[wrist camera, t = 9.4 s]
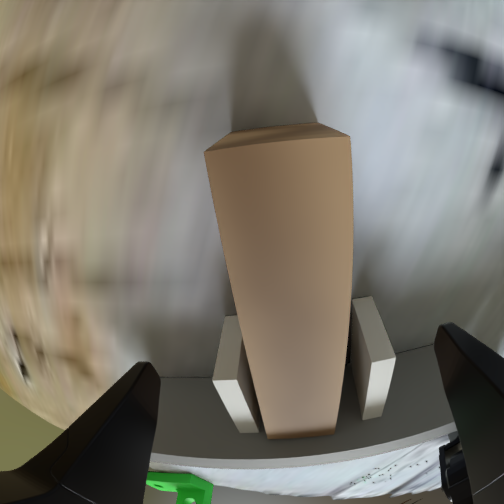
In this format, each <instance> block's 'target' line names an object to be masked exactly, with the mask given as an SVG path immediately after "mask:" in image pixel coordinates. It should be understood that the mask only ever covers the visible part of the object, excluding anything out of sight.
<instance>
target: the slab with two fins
mask: <svg viewBox="0 0 504 504" xmlns="http://www.w3.org/2000/svg"><path fill="white" fill-rule="evenodd" d="M160 379H161V389H160V399H159V410H158V420H157V426H156V432H155V437H154V442H153V447H152V452H151V458H150V461H153V462H159V463H166V464H173V465H182V466H192V467H203V468H220V469H275V468H292V467H304V466H314V465H322V464H330V463H337V462H343V461H349V460H355V459H360V458H365V457H370V456H374V455H379V454H383V453H387V452H391V451H395V450H399V449H403V448H406V447H410V446H413V445H417V444H420V443H423V442H426V441H429V440H432V439H435V438H438V437H441V436H444V435H447V434H449V433H452V432H455V431H457V429H456V425H455V422H454V419H453V415H452V412H451V409H450V406H449V403H448V400H447V397H446V394H445V391H444V387H443V383H442V379H441V375H440V371H439V367H438V363H437V359H436V355H435V352H434V344H433V345H429V346H425V347H422V348H418V349H414V350H410V351H406V352H401V353H397V354H395V353H394V350H393V348H392V345H391V343H390V340H389V337H388V335H387V332H386V330H385V327H384V325H383V322H382V320H381V317H380V315H379V312H378V310H377V307H376V305H375V303H374V300H373V298H372V296H369V297H363V298H357V299H352V338H351V363H347V364H345V368H344V376H343V383H342V390H341V397H340V404H339V410H338V416H337V422H336V427H335V433H334V434H332V435H324V436H314V437H303V438H288V439H268V438H267V434H266V430H265V426H264V423H263V419H262V415H261V411H260V407H259V403H258V399H257V395H256V391H255V387H254V383H253V379H252V375H251V371H250V366H249V362H248V358H247V354H246V350H245V345H244V341H243V337H242V332H241V328H240V324H239V319H238V315H234V316H225V319H224V324H223V328H222V333H221V338H220V343H219V348H218V353H217V358H216V363H215V368H214V374H213V377H203V378H160Z"/></svg>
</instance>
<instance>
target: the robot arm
mask: <svg viewBox="0 0 504 504" xmlns="http://www.w3.org/2000/svg"><path fill="white" fill-rule="evenodd" d="M434 352H435V355H436V359H437V363H438V367H439V371H440V375H441V379H442V383H443V387H444V391H445V394H446V397H447V400H448V403H449V406H450V409H451V412H452V415H453V419H454V422H455V425H456V429H457V431H455V432H452V433H449V434H448V437H449V440H450V443H448V444H446V445H443V446H441V447H440V448H439V453H440V455H439V460H440V470H441V482H442V486H441V488H442V492H445V494H446V496H447V498H448V499H449V500H450V501H451V502H453V504H504V358H503V357H502V356H500V355H499V354H497V353H496V352H494V351H493V350H492V349H490V348H489V347H487V346H486V345H485V344H483V343H482V342H480V341H479V340H477V339H476V338H474V337H473V336H471V335H470V334H469V333H467V332H466V331H464V330H463V329H461V328H460V327H458V326H457V325H455V324H454V323H452V322H448V323H445V324H441V325H440V326H439V327H438V331H437V334H436V338H435V341H434ZM160 389H161V379H160V377H159V375H158V373H157V372H156V370H155V369H154V367H153V366H152V364H151V363H150V362H137V363H136V364H135V365H134V366H133V367H132V368H131V369H130V370H129V371H128V372H126V373H125V374H124V375H123V376H122V377H121V378H120V379H119V380H118V381H117V382H116V383H115V384H114V385H113V386H112V387H111V388H110V389H108V390H107V391H106V392H105V393H104V394H103V395H102V396H101V397H100V398H99V399H98V400H97V401H96V402H95V403H94V404H93V405H92V406H90V407H89V408H88V409H87V410H86V411H85V412H84V413H83V414H82V415H81V416H80V417H79V418H78V419H77V420H76V421H75V422H73V423H72V424H71V425H70V426H69V428H67V429H66V430H65V431H64V432H63V433H62V434H61V435H60V436H58V437H57V438H56V439H55V440H54V441H53V442H52V443H51V444H49V445H48V446H47V447H46V448H45V449H43V450H42V451H41V452H39V453H38V454H37V455H36V456H34V457H33V458H31V459H30V460H29V461H28V462H26V463H25V464H24V465H22V466H21V467H19V468H17V469H14V470H11V471H1V472H0V504H143V499H144V492H145V486H146V480H147V475H148V469H149V463H150V458H151V452H152V447H153V442H154V437H155V432H156V426H157V420H158V410H159V399H160Z"/></svg>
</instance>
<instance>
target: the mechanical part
mask: <svg viewBox="0 0 504 504" xmlns="http://www.w3.org/2000/svg"><path fill="white" fill-rule="evenodd" d="M146 484H148V485H150V486H152V487H154V488H156V489H158V490H163V491H174V492H178V497H177V502H176V504H191V503H192V502H194V501H195V502H196V504H211V498H212V491H213V484H211V483H209V482H207V481H205V480H203V479H201V478H199V477H197V476H195V475H193V474H179V473H161V472H156V471H148V475H147V480H146Z"/></svg>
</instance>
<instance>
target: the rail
mask: <svg viewBox="0 0 504 504" xmlns="http://www.w3.org/2000/svg"><path fill="white" fill-rule="evenodd" d="M204 156H205V161H206V166H207V172H208V177H209V182H210V187H211V192H212V197H213V202H214V207H215V212H216V217H217V222H218V227H219V232H220V237H221V242H222V246H223V251H224V256H225V261H226V265H227V270H228V275H229V279H230V284H231V288H232V293H233V297H234V302H235V306H236V311H237V315H238V319H239V324H240V328H241V332H242V337H243V341H244V345H245V350H246V354H247V358H248V362H249V366H250V371H251V375H252V379H253V383H254V387H255V391H256V395H257V399H258V403H259V407H260V411H261V415H262V419H263V423H264V426H265V430H266V434H267V438H268V439H288V438H303V437H314V436H324V435H332V434H334V433H335V427H336V422H337V416H338V410H339V404H340V397H341V390H342V383H343V376H344V368H345V360H346V351H347V341H348V331H349V319H350V306H351V290H352V268H353V179H352V158H351V142H350V136H348V135H346V134H344V133H341V132H339V131H337V130H335V129H332V128H330V127H328V126H325V125H323V124H320V123H305V124H293V125H283V126H273V127H264V128H256V129H249V130H242V131H235V132H231V133H229V134H228V135H226V136H225V137H224V138H222V139H221V140H219V141H218V142H217V143H215V144H214V145H213V146H211V147H210V148H209V149H207V150H206V151H205V152H204Z"/></svg>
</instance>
